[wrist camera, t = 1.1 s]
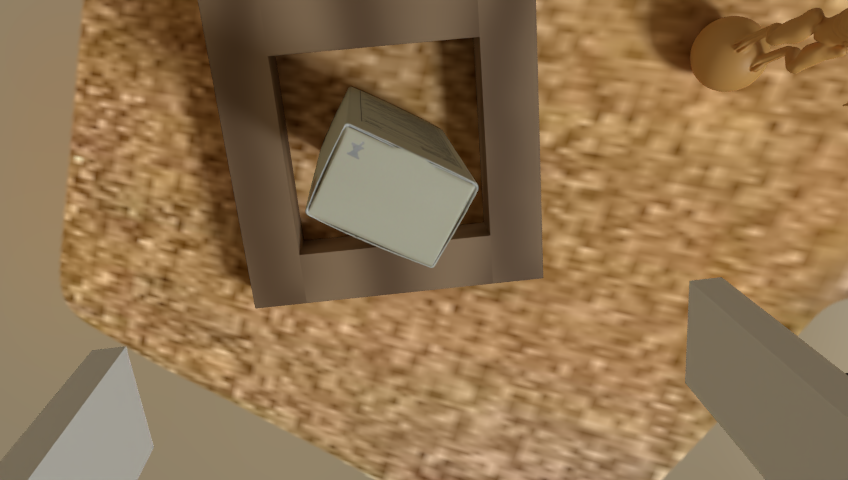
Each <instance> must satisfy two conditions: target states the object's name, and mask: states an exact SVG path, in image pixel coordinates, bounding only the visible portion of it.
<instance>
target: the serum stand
mask: <svg viewBox="0 0 848 480" xmlns="http://www.w3.org/2000/svg"><path fill="white" fill-rule="evenodd" d="M198 4H199V10H200V15H201V20H202V26H203V31H204V36H205V42H206V47H207V52H208V58H209V63H210V68H211V74H212V79H213V84H214V90H215V95H216V100H217V106H218V111H219V117H220V122H221V127H222V133H223V138H224V143H225V149H226V154H227V159H228V165H229V170H230V175H231V181H232V186H233V191H234V197H235V202H236V207H237V213H238V218H239V223H240V229H241V234H242V240H243V245H244V250H245V256H246V261H247V266H248V272H249V277H250V282H251V288H252V293H253V298H254V304H255V308H264V307H273V306H283V305H292V304H302V303H311V302H321V301H330V300H340V299H349V298H359V297H368V296H378V295H387V294H397V293H406V292H416V291H425V290H435V289H444V288H454V287H463V286H473V285H482V284H492V283H501V282H511V281H520V280H530V279H539V278H543V253H542V215H541V178H540V140H539V102H538V64H537V26H536V0H198ZM472 37H473V42H474V59H475V77H476V94H477V112H478V129H479V147H480V164H481V182H482V199H483V217H484V222H483V223H473V224H463V225H459V226H458V228H457V230H456V231H455V233H454V235H453V236H452V238H451V240H450V241H449V243H448V245H447V247H446V248H445V250H444V252H443V253H442V255H441V256H440V258H439V260H438V262H437V264H436V265H435V267H434V268H429V267H427V266H424V265H422V264H419V263H417V262H414V261H411V260H409V259H406V258H404V257H401V256H398V255H396V254H393V253H391V252H388V251H386V250H383V249H381V248H379V247H376V246H374V245H372V244H369V243H367V242H364V241H362V240H360V239H357V238H355V237H353V236H345V237H336V238H326V239H316V240H306V241H304V239H303V232H302V226H301V219H300V213H299V207H298V200H297V194H296V187H295V181H294V174H293V168H292V161H291V155H290V148H289V142H288V135H287V129H286V122H285V116H284V109H283V103H282V96H281V90H280V83H279V77H278V70H277V64H276V57H275V56H276V55H287V54H298V53H309V52H320V51H331V50H341V49H352V48H363V47H374V46H385V45H396V44H407V43H418V42H429V41H439V40H450V39H461V38H472Z"/></svg>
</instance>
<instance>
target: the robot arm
mask: <svg viewBox="0 0 848 480" xmlns="http://www.w3.org/2000/svg"><path fill="white" fill-rule="evenodd" d="M685 383H686V384H687V385H688V387H689V388H690V389H691V390H692V391H693V393H694V394H695V395H696V396H697V398H698V399H699V400H700V401H701V402H702V404H703V405H704V406H705V407H706V408H707V410H708V411H709V412H710V413H711V414H712V416H713V417H714V418H715V419H716V421H717V422H718V423H719V424H720V425H721V427H722V428H723V429H724V430H725V431H726V433H727V434H728V435H729V436H730V437H731V439H732V440H733V441H734V442H735V443H736V445H737V446H738V447H739V448H740V450H741V451H742V452H743V453H744V454H745V456H746V457H747V458H748V459H749V460H750V461H751V463H752V464H753V465H754V466H755V467H756V469H757V470H758V471H759V473H760V474H761V475H762V476H763V477H764V479H765V480H848V373H844V372H843V371H841V370H840V369H839V368H837V367H836V366H835V365H833V364H832V363H831V362H830V361H828V360H827V359H826V358H824V357H823V356H822V355H821V354H819V353H818V352H817V351H816V350H814V349H813V348H812V347H810V346H809V345H808V344H807V343H805V342H804V341H803V340H801V339H800V338H799V337H798V336H796V335H795V334H794V333H792V332H791V331H790V330H789V329H787V328H786V327H785V326H783V325H782V324H781V323H780V322H778V321H777V320H776V319H774V318H773V317H772V316H771V315H769V314H768V313H767V312H765V311H764V310H763V309H762V308H760V307H759V306H758V305H756V304H755V303H754V302H753V301H751V300H750V299H749V298H747V297H746V296H745V295H744V294H742V293H741V292H740V291H738V290H737V289H736V288H735V287H733V286H732V285H731V284H729V283H728V282H727V281H726V280H724V279H723V278H722V277H720V278H711V279H702V280H694V281H690V283H689V306H688V329H687V353H686V376H685ZM153 448H154V446H153V442H152V439H151V436H150V432H149V428H148V425H147V421H146V417H145V414H144V410H143V407H142V403H141V400H140V395H139V392H138V388H137V385H136V381H135V378H134V374H133V370H132V367H131V363H130V359H129V356H128V352H127V348H126V347H118V348H109V349H100V350H92V351H91V352H90V354H89V355H88V356H87V357H86V358H85V360H84V361H83V362H82V363H81V364H80V366H79V367H78V368H77V369H76V371H75V372H74V373H73V374H72V375H71V377H70V378H69V379H68V380H67V381H66V383H65V384H64V385H63V386H62V388H61V389H60V390H59V391H58V392H57V393H56V395H55V396H54V397H53V398H52V400H51V401H50V402H49V403H48V404H47V406H46V407H45V408H44V409H43V411H42V412H41V413H40V414H39V415H38V416H37V418H36V419H35V420H34V421H33V423H32V424H31V425H30V426H29V427H28V429H27V430H26V431H25V432H24V433H23V435H22V436H21V437H20V438H19V439H18V441H17V442H16V443H15V444H14V445H13V447H12V448H11V449H10V450H9V452H8V453H7V454H6V455H5V456H4V458H3V459H2V460H1V461H0V480H137V479H138V477H139V476H140V474H141V471H142V470H143V467H144V466H145V464H146V462H147V460H148V458H149V456H150V454H151V452H152V450H153Z"/></svg>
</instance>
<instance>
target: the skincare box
mask: <svg viewBox="0 0 848 480" xmlns="http://www.w3.org/2000/svg"><path fill="white" fill-rule="evenodd" d="M477 191H478V184H477V182H476V181H475V179H474V178H473V176H472V175H471V173H470V172H469V170H468V169H467V167H466V166H465V164H464V163H463V161H462V160H461V158H460V157H459V155H458V153H457V152H456V151H455V149H454V147H453V146H452V144H451V143H450V141H449V140H448V138H447V137H446V135H445V133H444V132H443V131H442V130H441V129H439V128H437V127H435V126H434V125H432V124H430V123H428V122H426V121H424V120H422V119H420V118H418V117H416V116H414V115H412V114H410V113H408V112H406V111H404V110H402V109H400V108H398V107H396V106H393V105H391V104H389V103H387V102H385V101H383V100H381V99H379V98H376V97H374V96H372V95H370V94H368V93H365V92H363V91H361V90H358V89H356V88H354V87H349V88H348V90H347V92H346V94H345V96H344V98H343V100H342V102H341V104H340V106H339V108H338V110H337V112H336V115H335V117H334V119H333V121H332V123H331V126H330V128H329V130H328V132H327V135H326V137H325V139H324V142H323V145H322V147H321V150H320V154H319V158H318V161H317V166H316V169H315V173H314V177H313V181H312V185H311V189H310V192H309V197H308V201H307V206H306V210H305V211H306V214H307V215H308V216H310V217H312V218H314V219H316V220H318V221H320V222H322V223H324V224H326V225H328V226H330V227H333V228H335V229H337V230H339V231H341V232H344V233H345V234H348V235H350V236H353V237H355V238H357V239H360V240H362V241H364V242H367V243H369V244H372V245H374V246H376V247H379V248H381V249H383V250H386V251H388V252H391V253H393V254H396V255H398V256H401V257H404V258H406V259H409V260H411V261H414V262H417V263H419V264H422V265H424V266H427V267H429V268H434V267H435V265H436V264H437V262H438V260H439V258H440V256H441V255H442V253H443V252H444V250H445V248H446V247H447V245H448V243H449V241H450V240H451V238H452V236H453V235H454V233H455V231H456V230H457V228H458V226H459V224H460V222H461V220H462V219H463V217H464V215H465V214H466V212H467V210H468V208H469V206H470V204H471V203H472V201H473V199H474V197H475V195H476V193H477Z"/></svg>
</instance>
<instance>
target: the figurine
mask: <svg viewBox="0 0 848 480" xmlns="http://www.w3.org/2000/svg"><path fill="white" fill-rule="evenodd" d="M812 34H814V39H815V40H816V41H818V42H815V43H812V44H809V45H807V46H805V47H804V48H803V49H802V50H800V49H799V48H797V47H792V46H786V47H783V48H780V49H777V50H774V51H771V52H770V45H773V46H778V45H782V44H797V43H800V42H802V41H804V40H806V39H807V38H808V37H809V36H810V35H812ZM847 51H848V8H847V9H845V10H844V11H842V12H841V13H839V14H837V15H835V16H833V17H831V18H827V17H825V16H824V13H823V11H822V10H821V9H820V8H813V9H810V10H809V11H807V12H806V13H804V14H803V15H801V16H799V17H797V18H794V19H791V20H789V21H787V22H785V23H783V24H781V23H774V24H772V25H770V26H768V27H765V28H762V27H761V26H760V25H759V24H757V23H756V22H755V21H753V20H751V19H748V18H745V17H740V16H729V17H724V18H720V19H718V20H716V21H714V22H712V23H710V24H709V25H707V26H706V27H705V28H704V29H703V30H702V31H701V32H700V33H699V34H698V36H697V37H696V39H695V41H694V43H693V45H692V48H691V53H690V63H691V68H692V71H693V73H694V75H695V76H696V78H697V79H698V80H699V81H700V82H701V83H702V84H703V85H704V86H706V87H708V88H710V89H712V90H716V91H721V92H731V91H736V90H740V89H742V88H745V87H747V86H748V85H750V84H752V83H753V82H754V81H755V80H757V79H758V78H759V77H760V75H761V74H762V73H763V71H764V70H765V68H766V66H767V64H768V63H770V62H772V61H774V60H777V59H779V58H781V57H784V56H785V66H786V69H787V70H788V71H789V72H790V73H793V74H797V73H799V72H800V71H802V70H804V69H806V68H809V67H812V66H814V65H816V64H818V63H820V62H823V61H825V60H829V59H834V58H838V57H843V56H845V55H846V54H847ZM843 106H848V103H847V104H844V105H843Z"/></svg>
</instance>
